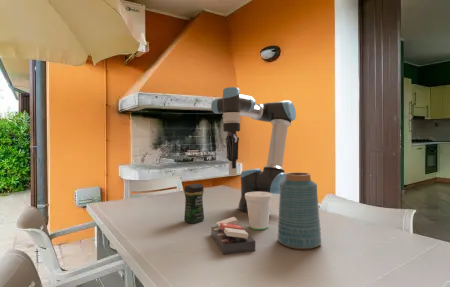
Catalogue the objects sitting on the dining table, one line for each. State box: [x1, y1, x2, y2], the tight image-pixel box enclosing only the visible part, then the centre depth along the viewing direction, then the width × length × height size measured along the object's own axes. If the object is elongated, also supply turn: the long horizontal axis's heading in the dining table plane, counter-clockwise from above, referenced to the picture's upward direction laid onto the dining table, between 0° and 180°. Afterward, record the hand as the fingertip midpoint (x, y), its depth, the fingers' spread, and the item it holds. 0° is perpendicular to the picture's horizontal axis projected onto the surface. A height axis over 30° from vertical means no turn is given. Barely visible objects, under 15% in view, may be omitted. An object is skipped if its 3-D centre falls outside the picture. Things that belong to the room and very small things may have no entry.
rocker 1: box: [215, 216, 239, 229], centre depth 113 cm, size 8×5×2 cm, turn 104°
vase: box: [277, 171, 322, 251], centre depth 105 cm, size 16×16×27 cm
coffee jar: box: [183, 183, 205, 224], centre depth 136 cm, size 10×8×19 cm
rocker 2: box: [220, 223, 244, 230], centre depth 107 cm, size 8×5×2 cm, turn 104°
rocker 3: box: [224, 228, 249, 238], centre depth 100 cm, size 8×5×2 cm, turn 105°
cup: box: [245, 192, 273, 231], centre depth 124 cm, size 12×12×15 cm
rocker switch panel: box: [210, 223, 256, 256], centre depth 110 cm, size 12×28×5 cm, turn 14°
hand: (232, 175), depth 121 cm, fingers closed
